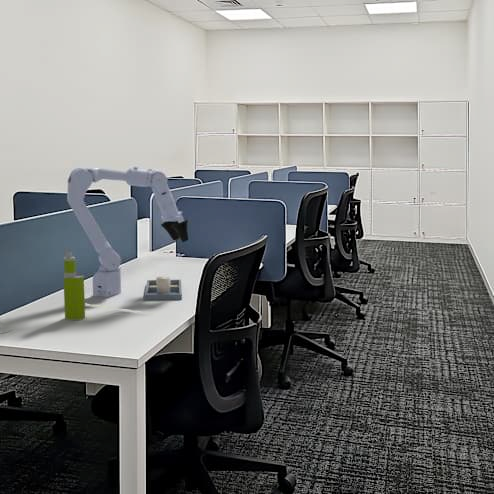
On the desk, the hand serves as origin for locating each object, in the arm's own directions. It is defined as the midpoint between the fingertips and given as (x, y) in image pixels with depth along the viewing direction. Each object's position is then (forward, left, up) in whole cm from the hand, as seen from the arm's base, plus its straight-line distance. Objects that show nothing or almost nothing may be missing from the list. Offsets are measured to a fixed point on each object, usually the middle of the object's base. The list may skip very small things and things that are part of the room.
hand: (180, 240), depth 238 cm
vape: (-48, +7, -18) cm, 51 cm away
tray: (-9, +2, -18) cm, 20 cm away
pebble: (-13, -2, -17) cm, 22 cm away
